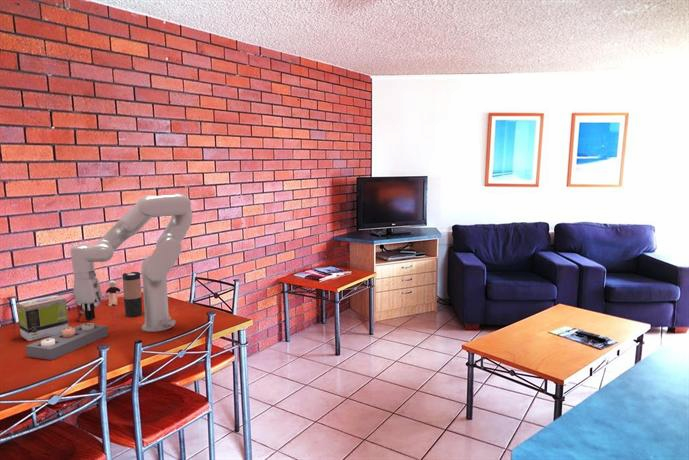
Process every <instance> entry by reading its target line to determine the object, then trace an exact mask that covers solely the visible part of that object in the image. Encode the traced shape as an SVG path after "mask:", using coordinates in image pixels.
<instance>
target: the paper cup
mask: <svg viewBox="0 0 689 460" xmlns="http://www.w3.org/2000/svg"><path fill="white" fill-rule="evenodd" d="M75 303H76V309H77V315H78V321H79V322H84V323H85V322H89V321H91V320H86V318H85V311H84V310H83V307H82V306H80V305H77V302H76V301H75Z"/></svg>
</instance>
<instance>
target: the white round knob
mask: <svg viewBox="0 0 689 460" xmlns="http://www.w3.org/2000/svg"><path fill="white" fill-rule="evenodd" d="M43 339H44V340H43ZM43 339H41V340H42V341H41V346H43V347H49V346H51V345H54V344H55V339H54V338H49V339H45V338H43Z"/></svg>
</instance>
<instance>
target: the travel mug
mask: <svg viewBox="0 0 689 460" xmlns="http://www.w3.org/2000/svg"><path fill="white" fill-rule="evenodd" d="M141 283H142V282H141V272H139V271H132V272H130V273H127V272H124V273H122V286H123V287H122V289H123V303H124V313H125V317H127V318H136V317H139V316H141V315H142V314H143V297H142V286H141V285H142V284H141Z"/></svg>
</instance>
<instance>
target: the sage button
mask: <svg viewBox="0 0 689 460" xmlns="http://www.w3.org/2000/svg"><path fill="white" fill-rule="evenodd" d="M82 324H83V325H82ZM82 324H81V325H82V330H86V331H89V330H91V329H94V325H95V323H92V322H91V323H89V322H88V323H82Z"/></svg>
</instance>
